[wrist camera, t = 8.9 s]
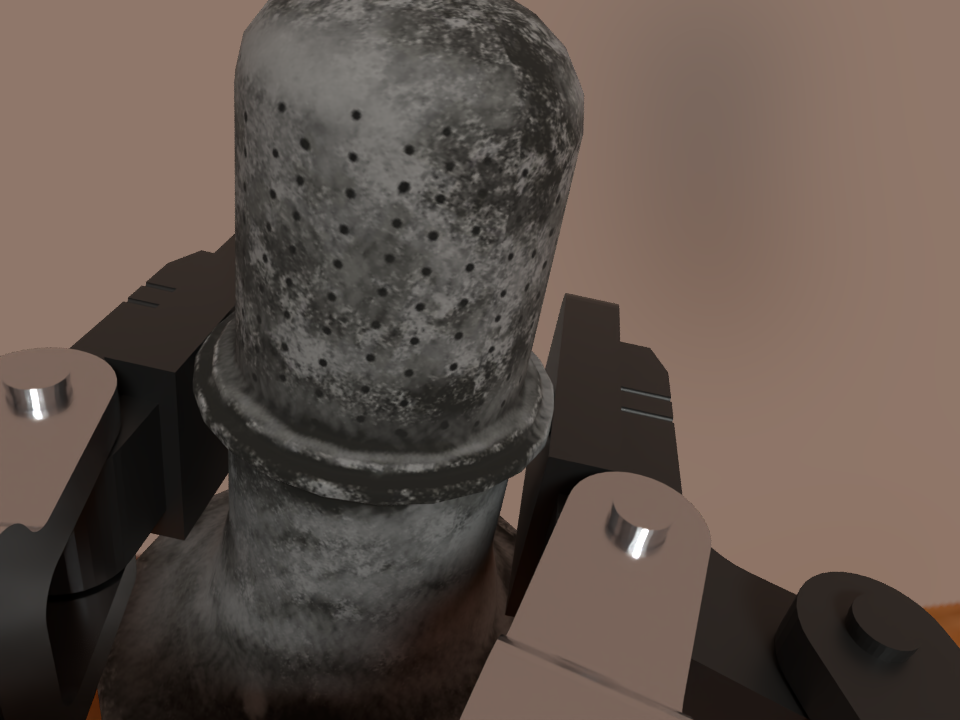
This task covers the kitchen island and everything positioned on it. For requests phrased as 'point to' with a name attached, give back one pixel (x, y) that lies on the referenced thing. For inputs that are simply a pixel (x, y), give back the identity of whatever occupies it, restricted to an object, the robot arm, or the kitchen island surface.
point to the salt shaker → (365, 369)
